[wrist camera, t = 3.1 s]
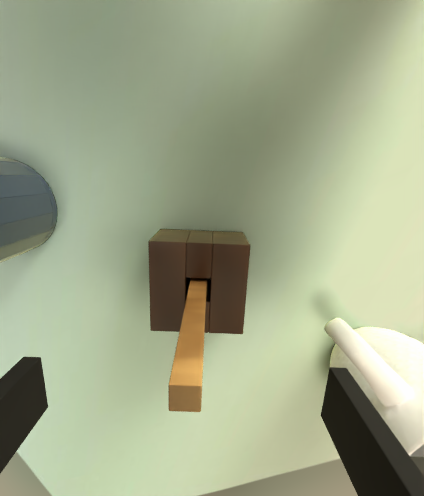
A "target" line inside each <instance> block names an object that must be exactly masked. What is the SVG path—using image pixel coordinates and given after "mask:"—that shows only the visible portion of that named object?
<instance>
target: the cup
mask: <svg viewBox="0 0 424 496" xmlns="http://www.w3.org/2000/svg"><path fill="white" fill-rule="evenodd" d="M56 221H57V206H56V201H55V198H54V195H53V193H52V191H51V189H50V187H49V186H48V184H47V183H46V181H45V180H44V179H43V178H42V177H41V176H40V175H39V174H38V173H37V172H36V171H35V170H34V169H32V168H31V167H29V166H28V165H26V164H24V163H22V162H19V161H17V160H14V159H10V158H3V157H0V263H1V262H4V261H6V260H8V259H11V258H13V257H16V256H18V255H21V254H23V253H26V252H28V251H30V250H31V249H34V248H36V247H38V246H40V245H41V244H43V243H44V242H45V241H46V240H47V239H48V238H49V237H50V236H51V234H52V232H53V231H54V228H55V225H56Z"/></svg>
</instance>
